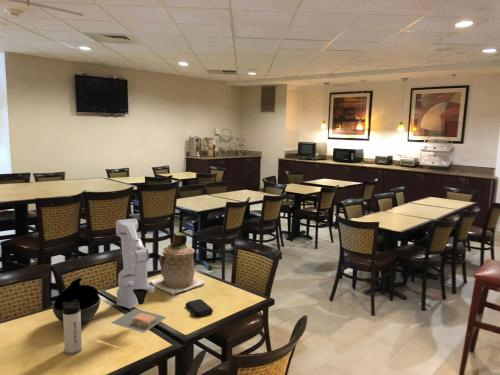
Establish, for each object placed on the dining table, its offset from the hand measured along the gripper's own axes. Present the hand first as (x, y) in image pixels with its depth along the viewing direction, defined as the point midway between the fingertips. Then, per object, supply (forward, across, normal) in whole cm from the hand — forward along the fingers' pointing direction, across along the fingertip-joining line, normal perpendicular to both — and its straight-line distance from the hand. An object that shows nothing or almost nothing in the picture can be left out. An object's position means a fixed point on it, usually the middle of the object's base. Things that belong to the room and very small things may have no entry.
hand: (141, 303), depth 173 cm
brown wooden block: (+8, -3, 0) cm, 8 cm away
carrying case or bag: (+10, +16, +23) cm, 30 cm away
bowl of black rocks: (+10, -26, -13) cm, 31 cm away
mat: (+9, -2, +1) cm, 10 cm away
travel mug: (+10, -9, -30) cm, 33 cm away
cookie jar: (+10, -12, +45) cm, 48 cm away
